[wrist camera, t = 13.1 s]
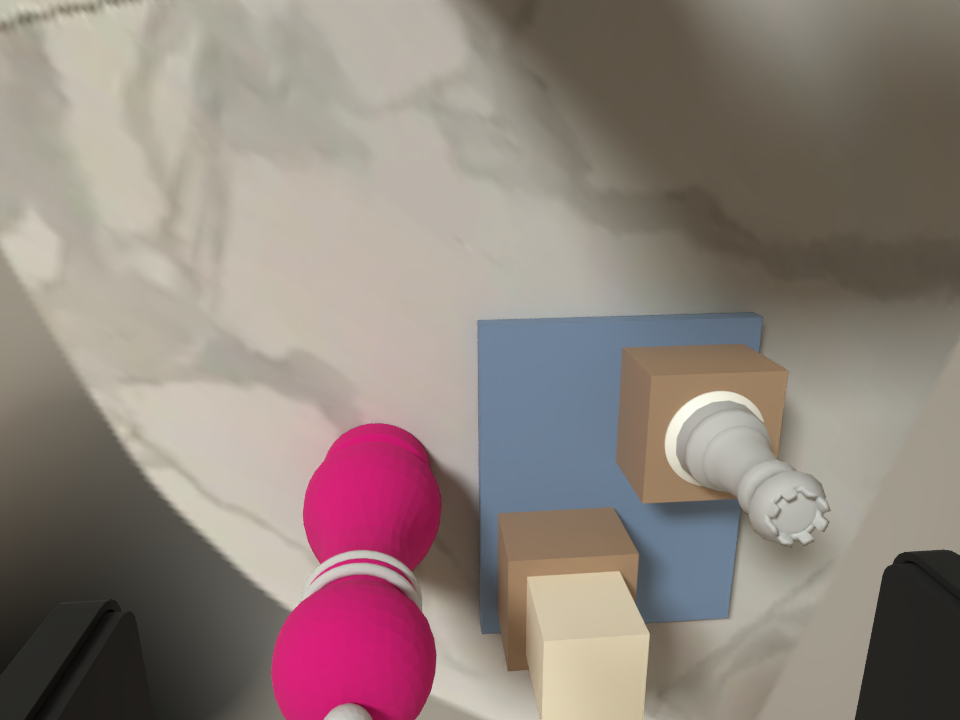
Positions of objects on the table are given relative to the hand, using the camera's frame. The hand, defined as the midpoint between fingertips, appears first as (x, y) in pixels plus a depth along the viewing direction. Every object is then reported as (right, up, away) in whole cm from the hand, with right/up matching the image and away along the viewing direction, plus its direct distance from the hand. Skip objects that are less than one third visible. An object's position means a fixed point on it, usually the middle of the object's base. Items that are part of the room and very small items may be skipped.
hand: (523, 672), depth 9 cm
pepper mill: (-7, -3, +32) cm, 33 cm away
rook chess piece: (+11, 0, +26) cm, 29 cm away
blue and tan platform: (+7, -3, +33) cm, 34 cm away
